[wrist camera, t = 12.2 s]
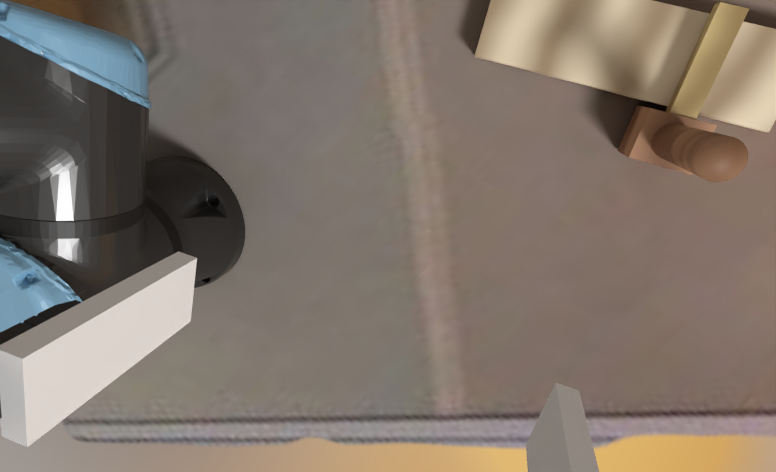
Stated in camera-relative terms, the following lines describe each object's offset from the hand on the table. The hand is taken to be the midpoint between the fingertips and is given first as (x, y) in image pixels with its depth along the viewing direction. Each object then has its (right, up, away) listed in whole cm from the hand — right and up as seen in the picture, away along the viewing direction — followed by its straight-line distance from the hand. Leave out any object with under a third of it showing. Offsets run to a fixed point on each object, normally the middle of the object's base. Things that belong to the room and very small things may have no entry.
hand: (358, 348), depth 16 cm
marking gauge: (+25, +16, +23) cm, 38 cm away
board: (+21, +19, +23) cm, 37 cm away
